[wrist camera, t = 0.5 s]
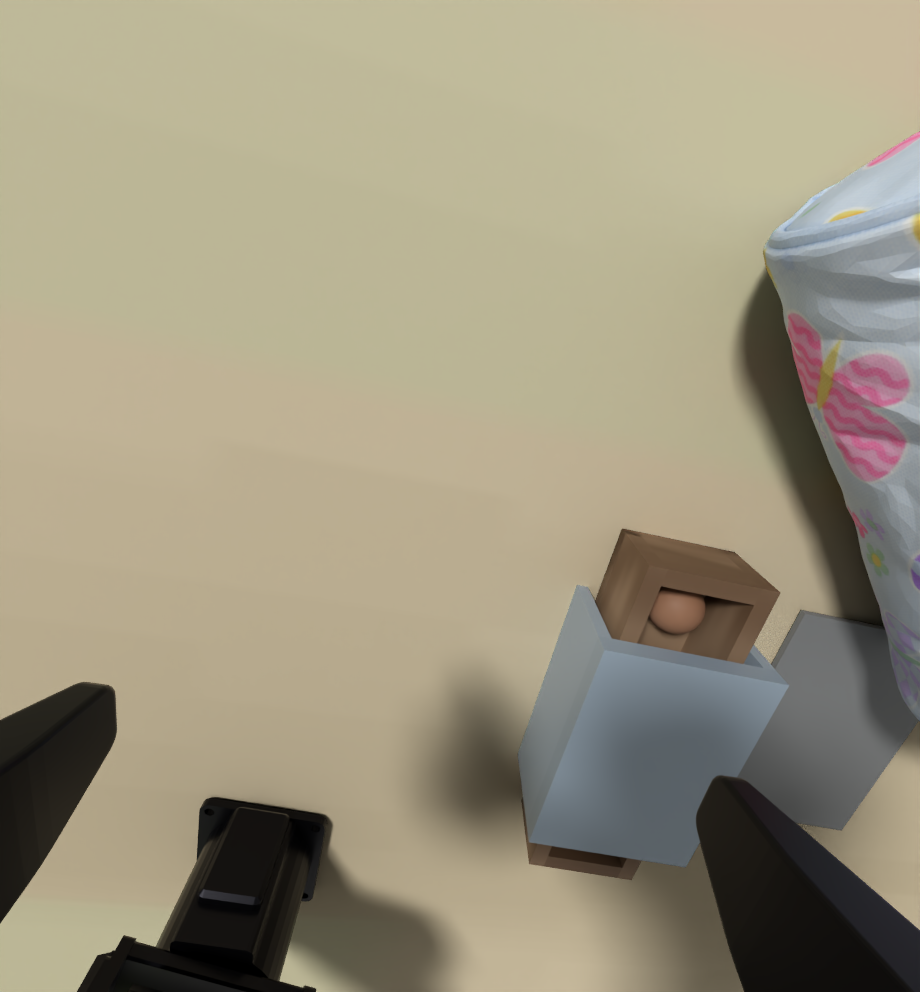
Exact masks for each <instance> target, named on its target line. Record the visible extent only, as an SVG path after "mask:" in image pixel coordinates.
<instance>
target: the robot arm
mask: <svg viewBox="0 0 920 992" xmlns="http://www.w3.org/2000/svg"><path fill="white" fill-rule="evenodd" d="M116 733H117V718H116V697H115V691H114V689H113V688H112V687H111V686H109V685H104V684H97V683H90V682H81V683H77V684H75V685H73V686H70V687H68V688H66V689H64V690H62V691H60V692H58V693H56V694H54V695H51V696H49V697H47V698H45V699H43V700H41V701H39V702H37V703H35V704H33V705H30V706H28V707H26V708H24V709H22V710H20V711H18V712H16V713H14V714H12V715H9V716H7V717H5V718H3V719H1V720H0V923H1V922H2V920H3V919H4V918H5V916H6V915H7V913H8V912H9V911H10V909H11V908H12V906H13V905H14V903H15V902H16V901H17V899H18V898H19V896H20V895H21V894H22V892H23V891H24V889H25V888H26V887H27V885H28V884H29V882H30V881H31V879H32V878H33V876H34V875H35V874H36V872H37V871H38V869H39V868H40V866H41V865H42V863H43V861H44V860H45V858H46V857H47V855H48V853H49V852H50V850H51V849H52V847H53V845H54V844H55V842H56V840H57V839H58V837H59V835H60V834H61V832H62V830H63V829H64V827H65V825H66V824H67V822H68V820H69V818H70V817H71V815H72V813H73V812H74V810H75V808H76V807H77V805H78V803H79V802H80V800H81V798H82V797H83V795H84V793H85V791H86V790H87V788H88V786H89V785H90V783H91V781H92V780H93V778H94V776H95V775H96V773H97V771H98V770H99V768H100V766H101V764H102V763H103V761H104V759H105V758H106V756H107V754H108V753H109V751H110V749H111V747H112V745H113V743H114V740H115V737H116ZM326 825H327V820H326V819H325V818H324V817H323V816H320V815H315V814H309V813H303V812H297V811H290V810H284V809H278V808H271V807H265V806H259V805H253V804H246V803H240V802H234V801H228V800H221V799H215V798H209V799H206V800H205V801H204V802H203V804H202V806H201V808H200V812H199V830H198V848H197V862H196V864H195V866H194V868H193V870H192V872H191V874H190V876H189V878H188V881H187V883H186V885H185V887H184V889H183V891H182V893H181V895H180V897H179V899H178V901H177V903H176V905H175V907H174V910H173V912H172V914H171V916H170V918H169V920H168V922H167V924H166V926H165V928H164V930H163V932H162V934H161V936H160V939H159V941H158V943H157V945H156V947H154V946H150V945H146V944H143V943H139V942H136V938H132V937H129V936H125V935H124V936H123V938H122V939H121V941H120V943H119V945H118V946H117V948H116V950H115V951H112V952H110V953H106V954H101V955H98V956H97V957H96V959H95V961H94V963H93V964H92V966H91V968H90V970H89V971H88V973H87V975H86V977H85V978H84V980H83V982H82V984H81V986H80V987H79V989H78V991H77V992H316V988H312V987H309V986H304V987H303V988H302V987H298V986H295V985H291V984H287V983H284V982H280V981H279V980H280V976H281V973H282V969H283V965H284V962H285V958H286V954H287V951H288V947H289V943H290V940H291V936H292V932H293V929H294V925H295V921H296V918H297V914H298V910H299V907H300V903H301V901H310V900H311V899H312V897H313V894H314V890H315V885H316V879H317V874H318V868H319V863H320V857H321V852H322V846H323V841H324V836H325V830H326ZM696 828H697V833H698V836H699V840H700V844H701V847H702V851H703V855H704V859H705V862H706V866H707V870H708V873H709V877H710V881H711V884H712V888H713V892H714V896H715V899H716V903H717V907H718V910H719V914H720V918H721V921H722V925H723V929H724V932H725V935H726V939H727V942H728V946H729V949H730V952H731V955H732V958H733V961H734V964H735V967H736V970H737V973H738V976H739V978H740V981H741V984H742V987H743V990H744V992H920V930H919V929H918V928H917V927H915V926H914V925H913V924H912V923H911V922H910V921H909V920H907V919H906V918H905V917H904V916H903V915H902V914H900V913H899V912H898V911H897V910H896V909H895V908H893V907H892V906H891V905H890V904H889V903H888V902H887V901H885V900H884V899H883V898H882V897H881V896H880V895H878V894H877V893H876V892H875V891H874V890H873V889H872V888H870V887H869V886H868V885H867V884H866V883H865V882H863V881H862V880H861V879H860V878H859V877H858V876H856V875H855V874H854V873H853V872H852V871H851V870H850V869H848V868H847V867H846V866H845V865H844V864H843V863H841V862H840V861H839V860H838V859H837V858H836V857H834V856H833V855H832V854H831V853H830V852H829V851H828V850H826V849H825V848H824V847H823V846H822V845H821V844H819V843H818V842H817V841H816V840H815V839H814V838H813V837H811V836H810V835H809V834H808V833H807V832H806V831H804V830H803V829H802V828H801V827H800V826H799V825H797V824H796V823H795V822H794V821H793V820H792V819H791V818H789V817H788V816H787V815H786V814H785V813H784V812H782V811H781V810H780V809H779V808H778V807H777V806H775V805H774V804H773V803H772V802H771V801H770V800H769V799H767V798H766V797H765V796H764V795H763V794H762V793H760V792H759V791H758V790H757V789H756V788H755V787H754V786H752V785H751V784H750V783H749V782H747V781H746V780H744V779H742V778H738V777H731V776H724V775H717V776H716V777H714V778H713V779H712V781H711V783H710V785H709V787H708V789H707V791H706V793H705V795H704V797H703V799H702V802H701V804H700V806H699V808H698V810H697V814H696Z"/></svg>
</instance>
